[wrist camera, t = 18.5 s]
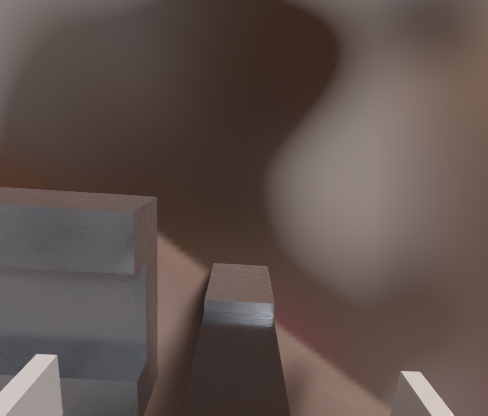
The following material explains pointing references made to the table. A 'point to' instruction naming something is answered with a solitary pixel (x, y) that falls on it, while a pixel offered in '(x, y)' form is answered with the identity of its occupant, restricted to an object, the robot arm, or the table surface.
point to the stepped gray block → (237, 348)
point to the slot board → (81, 295)
